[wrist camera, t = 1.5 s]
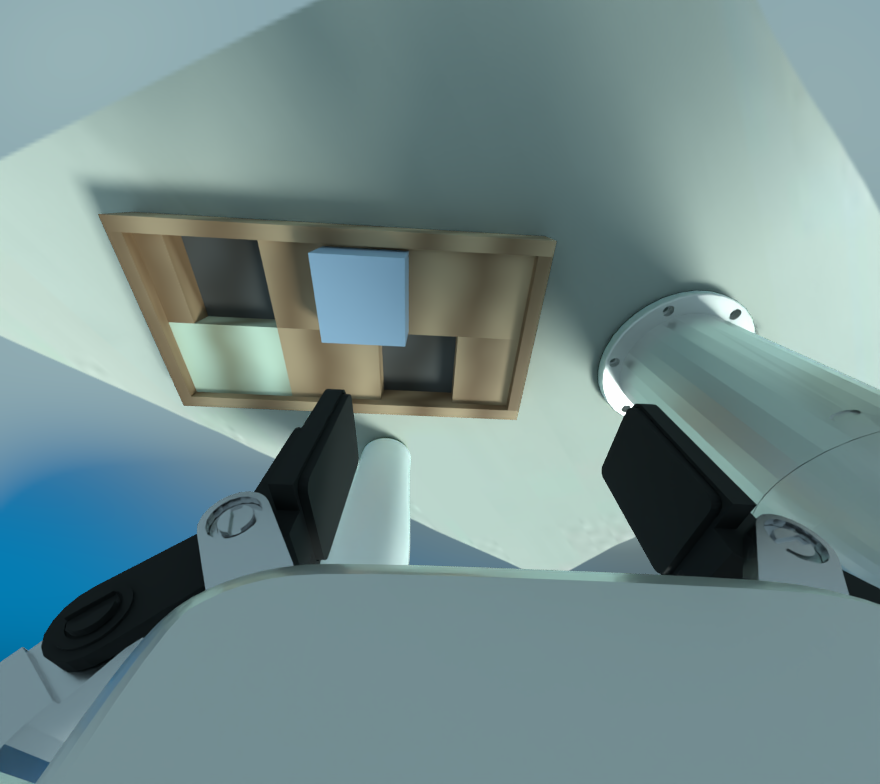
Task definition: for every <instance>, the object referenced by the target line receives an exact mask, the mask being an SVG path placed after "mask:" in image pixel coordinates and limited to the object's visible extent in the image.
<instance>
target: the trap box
mask: <svg viewBox="0 0 880 784" xmlns="http://www.w3.org/2000/svg"><path fill="white" fill-rule="evenodd" d="M98 215H99V218H100V220H101V222H102V224H103V226H104V229H105V231H106V233H107V235H108V238H109V240H110V242H111V244H112V247H113V249H114V251H115V253H116V255H117V258H118V260H119V262H120V264H121V267H122V269H123V271H124V273H125V276H126V278H127V280H128V282H129V284H130V287H131V289H132V291H133V293H134V296H135V298H136V300H137V302H138V305H139V307H140V309H141V311H142V313H143V316H144V318H145V320H146V322H147V325H148V327H149V329H150V331H151V334H152V336H153V338H154V340H155V343H156V345H157V347H158V349H159V351H160V354H161V356H162V358H163V360H164V363H165V365H166V367H167V369H168V372H169V374H170V376H171V378H172V380H173V383H174V385H175V387H176V389H177V392H178V394H179V396H180V398H181V401H182V403H183V405H184V406H206V407H229V408H252V409H275V410H299V411H312V410H313V409H314V407H315V406H316V404H317V402H318V401H319V399H320V397H321V396H322V394H323V392H324V391H325V390H326V389H343V390H345V392H346V394H350V395H351V397H352V404H353V413H368V414H392V415H415V416H438V417H461V418H484V419H508V420H517V416H518V412H519V407H520V403H521V398H522V394H523V390H524V385H525V381H526V376H527V372H528V367H529V363H530V358H531V354H532V349H533V345H534V340H535V336H536V331H537V327H538V323H539V318H540V314H541V309H542V305H543V300H544V296H545V291H546V287H547V282H548V278H549V273H550V269H551V264H552V260H553V256H554V251H555V247H556V242H557V241H555V240H553V239H550V238H548V237H546V236H532V235H515V234H498V233H482V232H465V231H448V230H431V229H414V228H397V227H380V226H363V225H346V224H329V223H312V222H296V221H279V220H262V219H245V218H228V217H211V216H194V215H177V214H160V213H143V212H124V213H109V214H98ZM322 246H332V247H350V248H367V249H385V250H402V251H409V332H408V336H407V341H406V345H405V347H402V346H381V345H361V344H340V343H322V341H321V335H320V328H319V321H318V315H317V308H316V302H315V295H314V289H313V282H312V276H311V269H310V263H309V256H308V253H309V252H311V251H313V250H315V249H317V248H320V247H322Z"/></svg>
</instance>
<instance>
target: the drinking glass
mask: <svg viewBox="0 0 880 784" xmlns="http://www.w3.org/2000/svg"><path fill="white" fill-rule="evenodd" d="M410 465H411V455H410V452H409V450H408V449H407V447H406V446H405V445H404V444H402V443H401V442H399V441H397V440H394V439H390V438H380V439H376V440H373V441H371V442H370V443H369V444H367V445H366V447H365V448H364V450H363V452H362V455H361V458H360V462H359V464H358V467H357V469H356V472H355V475H354V479H353V482H352V485H351V488H350V491H349V494H348V497H347V500H346V503H345V507H344V510H343V513H342V516H341V519H340V522H339V525H338V528H337V531H336V535H335V538H334V541H333V544H332V547H331V550H330V553H329V556H328V558H327V560H321V562H320V564H385V565H409V555H410Z"/></svg>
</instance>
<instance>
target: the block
mask: <svg viewBox="0 0 880 784" xmlns="http://www.w3.org/2000/svg"><path fill="white" fill-rule="evenodd" d="M308 256H309V263H310V269H311V276H312V282H313V289H314V295H315V302H316V308H317V315H318V321H319V328H320V335H321V341H322V343H340V344H361V345H381V346H402V347H405V345H406V341H407V336H408V332H409V251H402V250H385V249H367V248H350V247H332V246H322V247H320V248H317V249H315V250H313V251H311V252H309V253H308Z"/></svg>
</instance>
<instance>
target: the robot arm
mask: <svg viewBox="0 0 880 784" xmlns="http://www.w3.org/2000/svg"><path fill="white" fill-rule="evenodd" d="M598 383H599V387H600V390H601V393H602V395H603V396H604V398H605V400H606V401H607V402H608V404H609V405H610V406H611V407H612V408H613V409H614V410H615V411H616V412H618V413H619V414H620V415H622V416H624V417H623V420H622V422H621V424H620V427H619V429H618V431H617V434H616V436H615V438H614V441H613V443H612V445H611V448H610V450H609V452H608V454H607V457H606V459H605V461H604V464H603V466H602V476H603V478H604V480H605V482H606V484H607V485H608V487H609V489H610V491H611V493H612V494H613V496H614V498H615V500H616V502H617V503H618V505H619V507H620V509H621V511H622V512H623V514H624V516H625V518H626V520H627V521H628V523H629V525H630V527H631V529H632V530H633V532H634V534H635V536H636V537H637V539H638V541H639V543H640V545H641V546H642V548H643V550H644V552H645V554H646V555H647V557H648V559H649V561H650V563H651V564H652V566H653V568H654V569H655V570H656V571H657V572H658V573H660V574H661V575H649V574H628V573H606V572H582V571H557V570H532V569H506V568H478V567H450V566H449V567H448V566H421V565H385V564H320V562H321V560H327V558H328V556H329V553H330V550H331V547H332V544H333V541H334V538H335V535H336V531H337V528H338V525H339V522H340V519H341V516H342V513H343V510H344V507H345V503H346V500H347V497H348V494H349V491H350V488H351V485H352V482H353V479H354V475H355V472H356V469H357V466H358V448H357V439H356V430H355V422H354V413H353V404H352V397H351V395H350V394H346V392H345V390H343V389H326V390H325V391H324V392H323V394H322V396H321V397H320V399H319V401H318V402H317V404H316V406H315V407H314V409H313V410H312V412H311V414H310V415H309V417H308V419H307V420H306V422H305V424H304V425H303V427H302V428H300V427H298V428H296V429H295V430H294V431H293V432H292V434H291V435H290V437H289V438H288V440H287V441H286V443H285V444H284V446H283V448H282V449H281V451H280V452H279V454H278V455H277V457H276V459H275V460H274V462H273V463H272V465H271V466H270V468H269V470H268V471H267V473H266V474H265V476H264V477H263V479H262V481H261V482H260V484H259V485H258V487H257V488H256V490H255V491H254V492H240V493H237V494H233V495H230V496H228V497H226V498H224V499H222V500H220V501H218V502H217V503H215V504H214V505H213V506H212V507H210V508H209V509H208V510H207V511H206V512H205V514H204V515H203V516H202V517H201V519H200V521H199V523H198V527H197V534H196V535H194V536H192V537H190V538H188V539H186V540H184V541H182V542H181V543H178V544H176V545H174V546H173V547H171V548H169V549H167V550H165V551H163V552H161V553H159V554H157V555H155V556H153V557H151V558H149V559H147V560H146V561H144V562H142V563H140V564H138V565H136V566H134V567H132V568H130V569H128V570H126V571H124V572H122V573H120V574H118V575H116V576H115V577H112V578H111V579H109V580H107V581H105V582H103V583H101V584H99V585H97V586H95V587H93V588H92V589H90V590H88V591H87V592H85V593H83V594H82V595H80V596H79V597H77V598H76V599H75V600H74V601H73V602H71V603H70V604H69V605H68V606H66V607H65V608H64V609H63V610H62V611H61V612H60V614H59V615H58V616H57V617H56V618H55V619H54V620H53V622H52V623H51V625H50V626H49V628H48V630H47V631H46V633H45V634H44V638H43V641H41V642H40V643H39V644H37V645H36V646H34V647H33V648H32V649H30V650H29V651H28V650H26V649H25V648H23V647H22V648H20V649H19V650H17V651H16V652H15V653H13V654H12V655H10V656H9V657H8V658H6V659H5V660H3V661H2V662H0V784H880V390H879V389H877V388H875V387H872V386H870V385H868V384H866V383H864V382H861V381H859V380H857V379H855V378H852V377H850V376H848V375H846V374H844V373H841V372H839V371H837V370H835V369H832V368H830V367H828V366H826V365H824V364H821V363H819V362H817V361H815V360H812V359H810V358H808V357H806V356H804V355H801V354H799V353H797V352H795V351H793V350H790V349H788V348H786V347H784V346H781V345H779V344H777V343H775V342H773V341H770V340H768V339H766V338H764V337H761V336H759V335H757V334H755V326H754V323H753V319H752V317H751V315H750V314H749V312H748V311H747V309H746V308H745V307H744V306H743V305H742V304H740V303H739V302H738V301H737V300H734V299H732V298H730V297H727V296H725V295H722V294H718V293H715V292H711V291H689V292H681V293H677V294H674V295H671V296H668V297H664V298H662V299H660V300H658V301H656V302H654V303H652V304H650V305H648V306H646V307H645V308H643V309H642V310H640V311H639V312H637V313H636V314H635V315H633V316H632V317H631V318H630V319H629V320H628V321H627V322H625V323H624V324H623V325H622V326H621V327H620V329H619V330H618V331H617V332H616V333H615V334H614V336H613V337H612V338H611V340H610V342H609V343H608V345H607V347H606V348H605V350H604V353H603V355H602V358H601V360H600V365H599V370H598Z"/></svg>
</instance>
